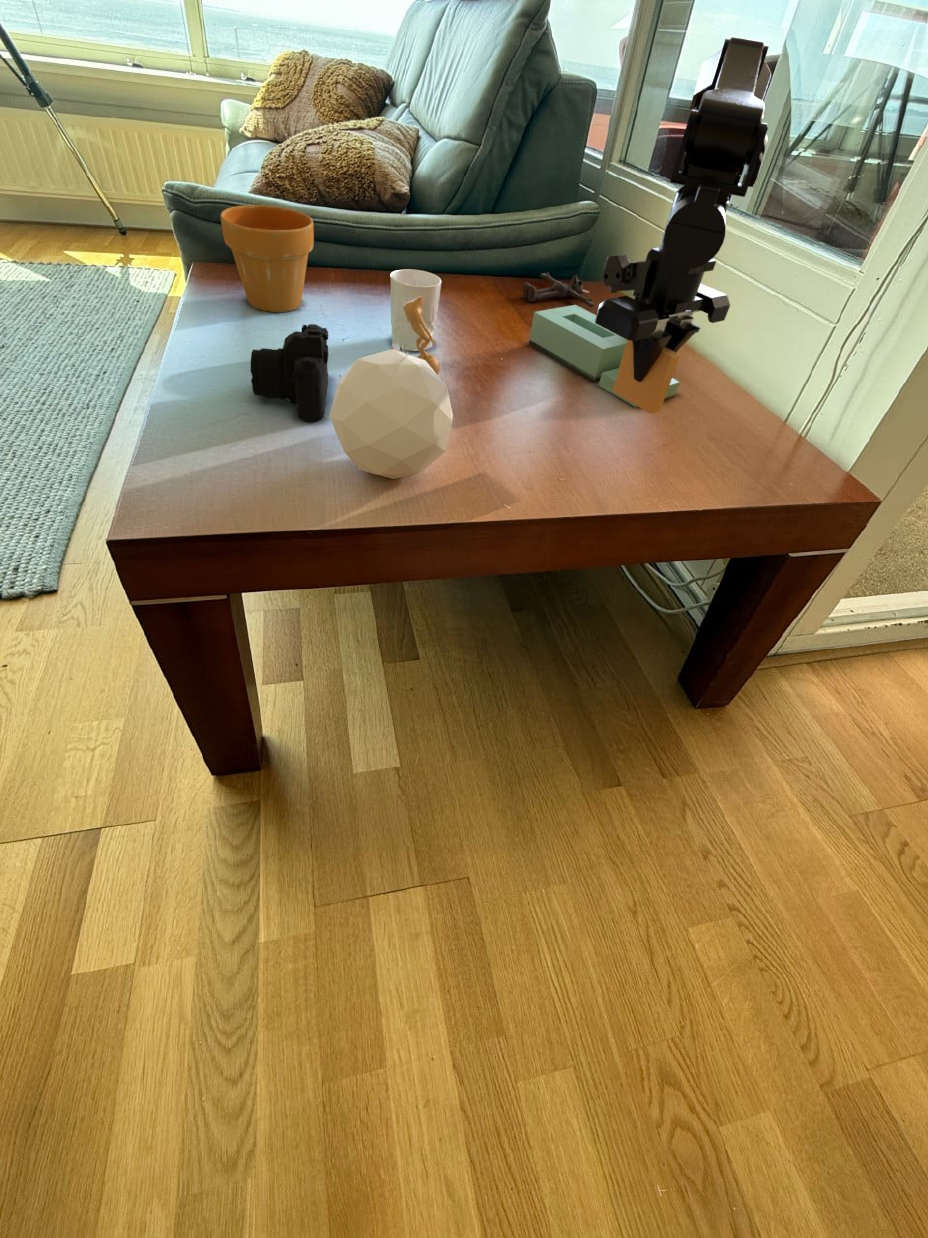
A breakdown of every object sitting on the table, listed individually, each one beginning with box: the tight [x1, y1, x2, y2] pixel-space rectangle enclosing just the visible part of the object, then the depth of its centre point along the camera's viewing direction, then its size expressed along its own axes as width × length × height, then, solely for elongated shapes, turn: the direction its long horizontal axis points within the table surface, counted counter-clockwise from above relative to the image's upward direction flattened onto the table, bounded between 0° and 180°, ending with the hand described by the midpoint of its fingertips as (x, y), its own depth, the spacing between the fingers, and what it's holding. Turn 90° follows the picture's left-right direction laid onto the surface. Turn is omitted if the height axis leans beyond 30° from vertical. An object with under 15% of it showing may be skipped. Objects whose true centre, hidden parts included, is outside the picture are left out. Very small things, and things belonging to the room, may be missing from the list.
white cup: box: [389, 268, 443, 352], centre depth 101 cm, size 8×8×10 cm
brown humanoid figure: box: [522, 271, 596, 308], centre depth 128 cm, size 18×4×14 cm
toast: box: [613, 340, 681, 415], centre depth 81 cm, size 2×7×8 cm, turn 38°
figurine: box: [403, 296, 441, 376], centre depth 90 cm, size 8×6×12 cm
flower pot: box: [220, 204, 315, 313], centre depth 105 cm, size 14×14×13 cm
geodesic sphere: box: [328, 342, 454, 480], centre depth 72 cm, size 15×14×14 cm
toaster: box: [527, 304, 627, 384], centre depth 106 cm, size 10×16×6 cm, turn 38°
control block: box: [598, 368, 681, 408], centre depth 100 cm, size 10×8×4 cm
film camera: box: [250, 323, 329, 423], centre depth 83 cm, size 15×10×9 cm, turn 5°
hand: (642, 379), depth 82 cm, fingers closed on toast, 2 cm apart
